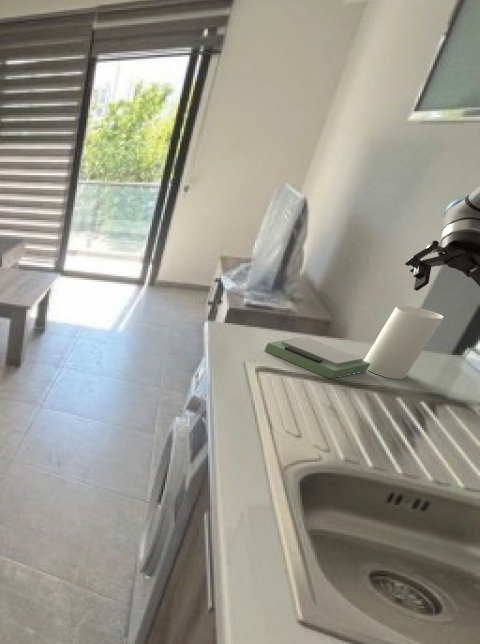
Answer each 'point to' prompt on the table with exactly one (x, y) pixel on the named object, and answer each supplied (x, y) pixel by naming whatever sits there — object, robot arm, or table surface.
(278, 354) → the scale
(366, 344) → the table surface
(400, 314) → the cup
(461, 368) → the table surface
